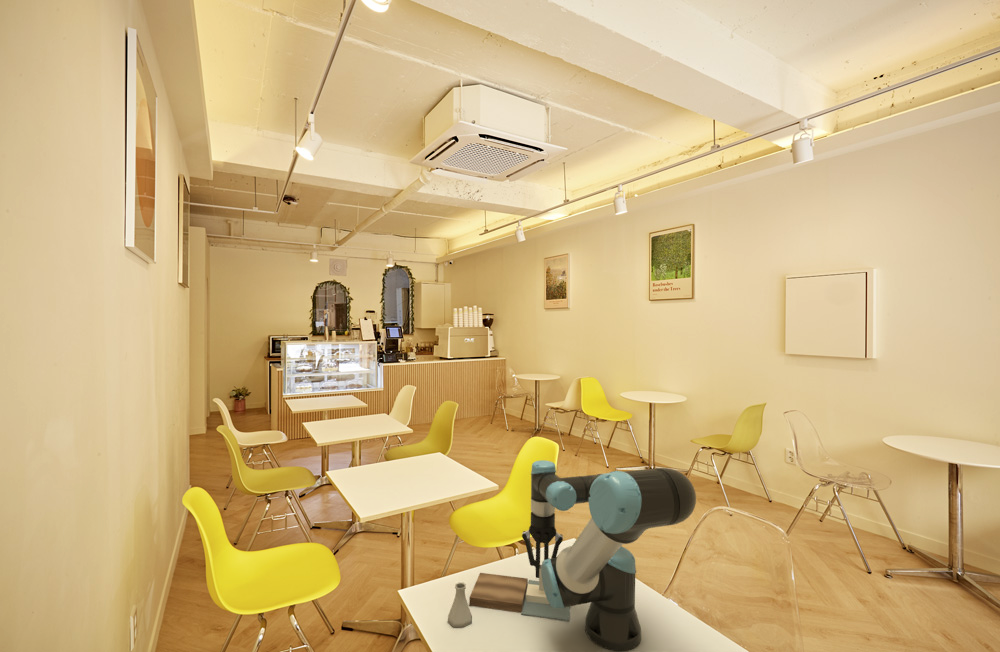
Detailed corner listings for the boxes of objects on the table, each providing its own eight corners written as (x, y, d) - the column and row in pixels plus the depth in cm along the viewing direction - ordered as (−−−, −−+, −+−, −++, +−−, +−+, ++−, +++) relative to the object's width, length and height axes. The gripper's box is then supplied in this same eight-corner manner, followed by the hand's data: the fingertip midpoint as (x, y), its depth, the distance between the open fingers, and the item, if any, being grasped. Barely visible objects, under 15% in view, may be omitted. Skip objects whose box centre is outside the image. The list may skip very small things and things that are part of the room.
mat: (569, 621, 130) (569, 620, 130) (521, 614, 132) (521, 613, 132) (571, 586, 147) (571, 585, 147) (528, 581, 150) (528, 579, 150)
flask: (468, 609, 134) (468, 576, 134) (475, 625, 127) (476, 589, 127) (444, 615, 132) (445, 580, 132) (450, 630, 125) (451, 594, 125)
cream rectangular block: (555, 604, 137) (555, 598, 137) (525, 601, 138) (525, 594, 138) (556, 593, 142) (556, 587, 143) (527, 590, 144) (528, 583, 144)
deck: (521, 612, 133) (521, 604, 133) (469, 605, 136) (469, 597, 136) (527, 586, 147) (527, 578, 147) (479, 580, 150) (480, 572, 150)
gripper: (564, 509, 143) (563, 583, 142) (523, 505, 145) (522, 579, 145) (563, 518, 135) (562, 597, 135) (520, 515, 138) (519, 592, 137)
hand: (541, 588), depth 140 cm, fingers closed
